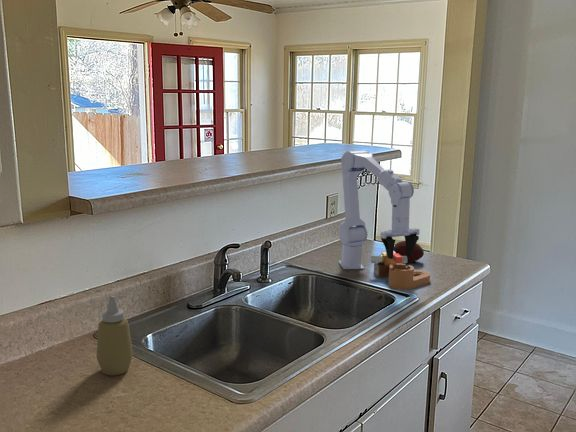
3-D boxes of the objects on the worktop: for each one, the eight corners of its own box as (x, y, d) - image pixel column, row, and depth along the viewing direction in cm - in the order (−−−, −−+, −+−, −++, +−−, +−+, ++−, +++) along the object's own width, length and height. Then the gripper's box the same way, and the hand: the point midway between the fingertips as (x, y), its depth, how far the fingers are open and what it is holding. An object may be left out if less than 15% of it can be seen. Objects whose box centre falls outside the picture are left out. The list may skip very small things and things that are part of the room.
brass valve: (368, 272, 203) (369, 251, 201) (402, 272, 204) (403, 251, 203) (372, 278, 197) (374, 256, 195) (407, 277, 199) (409, 256, 197)
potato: (386, 259, 221) (387, 239, 219) (406, 255, 227) (408, 236, 225) (407, 267, 211) (408, 246, 209) (427, 263, 217) (429, 242, 215)
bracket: (402, 292, 185) (403, 272, 183) (383, 285, 191) (384, 266, 189) (434, 281, 196) (435, 263, 195) (415, 275, 202) (416, 257, 201)
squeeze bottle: (113, 382, 122) (110, 306, 118) (89, 372, 126) (85, 298, 122) (141, 368, 129) (138, 295, 125) (117, 358, 133) (114, 288, 129)
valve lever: (385, 252, 200) (385, 247, 200) (391, 252, 200) (391, 247, 200) (395, 262, 188) (396, 257, 188) (402, 262, 188) (402, 257, 188)
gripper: (389, 221, 178) (388, 261, 181) (425, 217, 184) (424, 257, 186) (377, 218, 185) (376, 257, 187) (412, 214, 191) (411, 253, 193)
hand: (399, 257), depth 187 cm, fingers open, 7 cm apart
